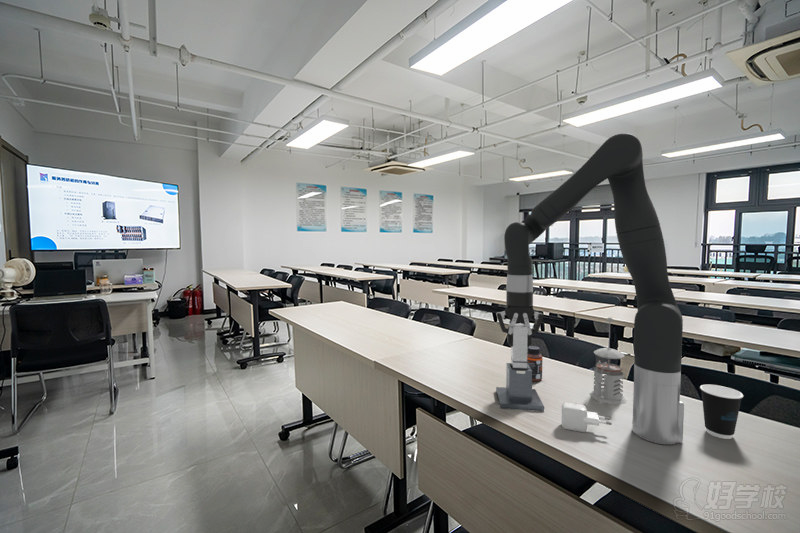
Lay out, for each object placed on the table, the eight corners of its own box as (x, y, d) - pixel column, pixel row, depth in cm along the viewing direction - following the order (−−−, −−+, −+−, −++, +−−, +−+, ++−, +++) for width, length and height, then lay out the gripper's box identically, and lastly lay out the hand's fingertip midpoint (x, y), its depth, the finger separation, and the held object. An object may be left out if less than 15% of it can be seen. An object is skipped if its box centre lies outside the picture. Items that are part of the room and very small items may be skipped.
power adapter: (609, 429, 90) (609, 407, 90) (612, 439, 85) (612, 415, 85) (561, 421, 94) (561, 400, 94) (561, 430, 90) (562, 407, 89)
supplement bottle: (543, 382, 121) (544, 350, 120) (525, 381, 122) (525, 349, 121) (540, 376, 127) (540, 345, 126) (523, 375, 128) (523, 344, 127)
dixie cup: (705, 422, 93) (706, 381, 92) (746, 436, 86) (748, 392, 86) (692, 431, 89) (694, 388, 88) (734, 446, 82) (737, 400, 81)
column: (524, 381, 108) (525, 324, 107) (527, 386, 104) (528, 327, 103) (510, 380, 109) (511, 323, 108) (512, 385, 105) (513, 326, 104)
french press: (631, 398, 108) (634, 317, 106) (615, 409, 101) (618, 323, 99) (598, 388, 116) (600, 313, 114) (581, 397, 109) (582, 317, 107)
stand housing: (535, 393, 112) (535, 361, 111) (543, 411, 100) (544, 375, 99) (496, 391, 114) (496, 359, 113) (500, 408, 102) (500, 373, 101)
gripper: (496, 291, 102) (496, 349, 103) (547, 291, 100) (547, 350, 101) (493, 288, 110) (493, 342, 111) (541, 288, 107) (541, 343, 108)
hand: (519, 346), depth 106 cm, fingers closed on column, 4 cm apart
